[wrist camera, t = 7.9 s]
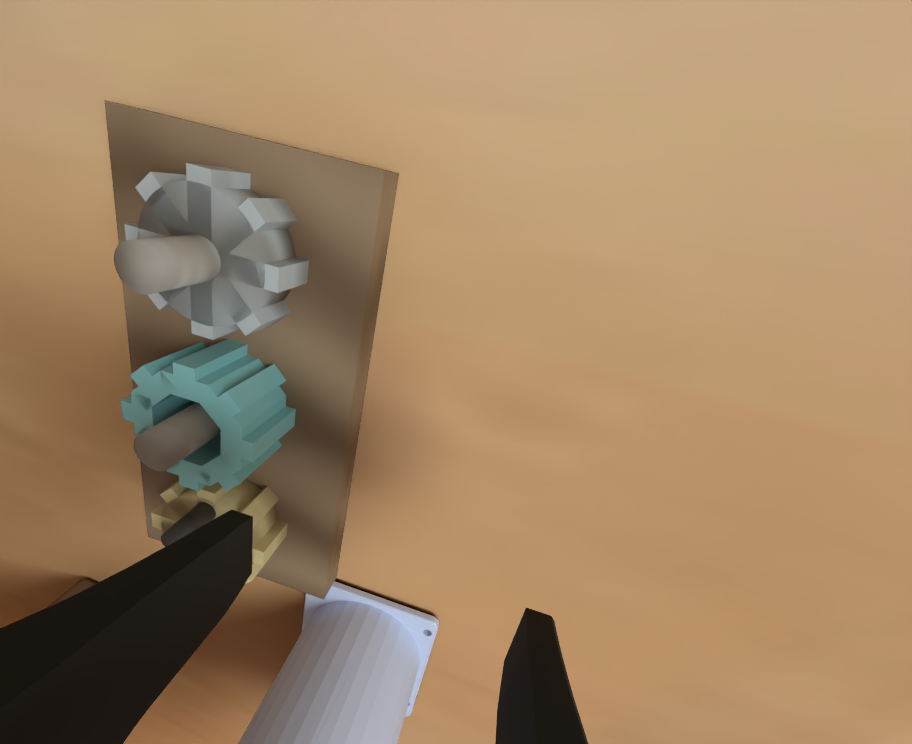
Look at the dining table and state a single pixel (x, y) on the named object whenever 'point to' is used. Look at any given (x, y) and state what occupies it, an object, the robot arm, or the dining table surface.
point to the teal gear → (215, 408)
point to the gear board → (296, 342)
